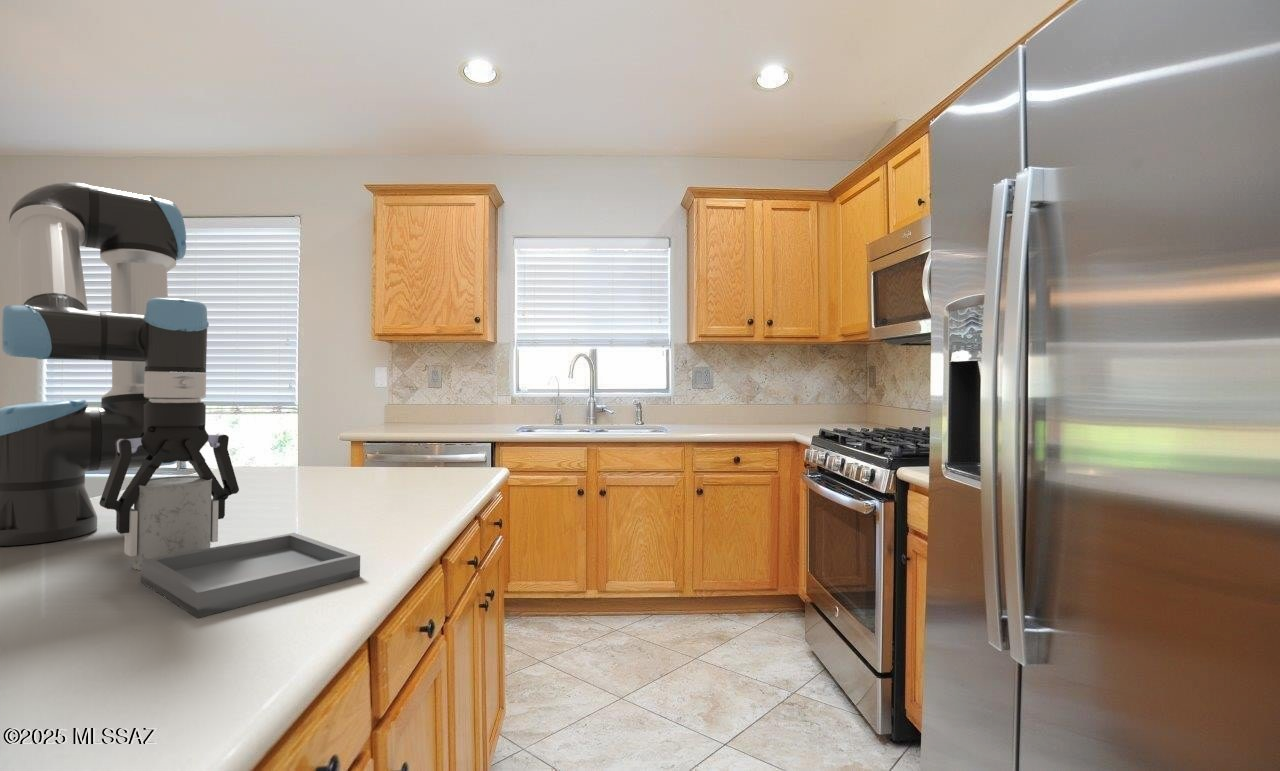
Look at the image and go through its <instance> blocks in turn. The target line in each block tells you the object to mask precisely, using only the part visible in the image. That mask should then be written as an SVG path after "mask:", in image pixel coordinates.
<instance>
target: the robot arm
mask: <svg viewBox="0 0 1280 771" xmlns="http://www.w3.org/2000/svg"><path fill="white" fill-rule="evenodd" d="M8 221H9V222H8V224H9V226H8V227H9V231H10V234H11V236H12V238H14V240H15V241H16V242H18V243H17V244H18V245H17V248H18V274H19V275H18V277H19V279H18V280H19V283H18V284H19V305H18V304H17V305H13V304H10V305H6V306H4V308H3V309H2V311H1V312H2V314H1V316H2V319H1V320H2V321H1V350H2V352H3V353H4V354H5V355H8V356H10V357H15V358H17V357H19V358H33V359H38V360H46V359H47V360H82V361H83V360H85V361H95V360H96V361H111V389H110V390H109V391H107V392H106V393H104V394H103V395H102V396H101V401H100V403H101V404H100V405H101V406H88V405H89V403H88V402H87V400H86V399H83V398H75V399H59V400H58V399H57V400H49V401H40V402H37V401H36V402H30V403H29V402H27V403H22V404H21V403H20V404H14V405H13V404H12V405H8V406H4V407H2V408H1V407H0V547H3V546H5V547H7V546H8V547H9V546H22V545H23V546H25V545H34V544H35V545H36V544H41V543H48V542H55V541H56V542H57V541H62V540H66V539H71V538H77V537H80V536H84V535H87V534H90V533H93V532H95V531H96V530H98V516H97V512H96V510H95V507H94V505H93V503H92V501H91V498H90V496H89V494H88V491H87V489H86V472H94V471H95V472H97V471H108V470H110V472H109V474H108V477H107V480H106V483H105V486H104V489H103V492H102V493H101V497H100V500H99V503H98V504H99V505H100V507H102V508H105V509H107V510H114V511H115V512H116V514H115V515H116V516H115V520H116V521H115V530H116V531H117V533H118V534H120V535H123V534H124V548H123V549H124V550H123V551H124V552H123V553H124V554H125V555H127V556H129V557H133V556H137V520H138V511H137V510H135V509H134V508H132V507H134V503H135V501H136V500H137V498H138V497H139V495H140V487H139V486H140V485H141V486H146V485H147V483H148V481H149V480H150V479H152V477H153V475H154V474H155V472H156V471H157V469H159V468H160V467H162V466H171V465H175V464H176V463H178V462H188V463H189V464H190V465H191V466H192V468H193V469H194V471H195V472H196V473H197V476H199V477H200V478H202V479H205V480H210V479H211V478H212V489H211V540H210V543H217V542H218V541H219V520H222V519H224V518H225V516H226V500H227V499H228V498H229V496H231V495H236V494H238V493H239V491H240V488H239V484H238V480H237V478H236V474H235V471H234V467H233V463H232V459H231V457H230V453H229V449H228V448H229V439H230V438H229V436H228V435H227V434H223V433H217V434H209V433H208V432H207V431H206V411H207V407H206V406H207V405H206V404H205V402H203V401H202V399H205V398H206V396H207V395H206V394H207V390H206V389H207V352H208V351H207V347H208V345H207V344H208V342H207V341H208V327H209V322H208V309H207V306H206V305H205V304H204V303H203V302H202V301H198V300H192V299H184V298H183V299H182V298H173V297H172V298H171V297H169V296H168V294H169V293H168V272H170V271H171V270H172V269H174V268H175V267H176V266H177V260H182V259H183V258H185V256H186V253H187V252H186V251H187V242H186V241H187V232H186V225H185V221H184V216H183V215H182V212H181V210H180V209H179V207H178V206H177V204H175V203H174V202H172V201H170V200H167V199H164V198H163V199H162V198H158V197H154V196H152V195H148V194H147V195H143V194H137V193H134V192H133V193H132V192H129V191H128V192H127V191H123V190H122V191H121V190H117V189H112V188H106V187H99V186H95V185H90V184H86V183H81V182H69V181H68V182H65V181H64V182H56V183H52V184H47V185H43V186H40V187H38V188H36V189H33V190H31V191H29V192H28V193H26V194H25V195H23V196H22V197H21V198H19V199H18V200H17V201H16V202H15V204H14V205H13V206H12V208H11V211H10V214H9V219H8ZM81 247H85V248H93V249H96V250H97V249H98V250H100V252H99V253H100V254H99V255H100V260H101V261H102V262H103V263H105V264H106V265H107V266H109V267H110V287H111V288H110V290H111V291H110V294H111V295H110V296H111V297H110V298H111V300H110V301H111V306H110V309H111V311H110V312H109V311H98V310H88V302H87V295H86V294H87V293H86V288H85V287H86V286H85V279H84V272H83V264H82V258H81V257H82V256H81V250H80V248H81ZM168 297H169V298H168ZM207 442H208V444H209V446H210V447H211V448H212V450H213V454H214V458H215V462H216V466H217V468H218V472H219V475H220V479H221V482H222V485H221V484H220V482H219V481H218V479H217V477H216V476H215V475H214V474H215V473H213V472H212V470H211V468H210V467H209V465H208V464H207V462H206V459H205V457H204V456H203V454H202V453H201V450H202V448H203V447H204V446H205V445H206V443H207ZM138 468H139V469H138ZM128 469H138V470H137V472H136V473H135V475H134V476H133V477H132V479H131V480H130V482H129V483H128V485H127V486H126V489H125V490H124V491H123V493H122V494H121V496H120V497H119V495H120V493H121V489H122V486H123V484H124V482H125V479H126V475H127V472H128ZM222 486H223V487H222Z"/></svg>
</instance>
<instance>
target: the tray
mask: <svg viewBox="0 0 1280 771" xmlns="http://www.w3.org/2000/svg"><path fill="white" fill-rule="evenodd" d="M140 572H141V573H140V583H142V584H143V583H144V585H145V586H146V585H147V586H146V587H148V586H149V587H150V589H151V588H152V589H151V590H153V589H154V590H155V592H156V591H157V592H158V593H157V592H156V593H157V594H159V593H160V594H161V595H160V594H159V595H160V596H162V595H163V596H162V597H164V596H165V597H166V598H165V597H164V598H165V599H167V598H168V599H169V601H170V600H171V601H172V602H171V601H170V602H171V603H173V602H174V603H173V604H175V605H176V604H177V605H176V606H178V605H179V606H180V607H179V606H178V607H179V608H181V607H182V608H183V609H182V608H181V609H182V610H184V609H185V610H186V612H187V611H188V612H187V613H188V614H191V615H192V616H193V617H194V618H196V619H200V618H203V617H207V616H211V615H215V614H218V613H222V612H223V613H224V612H226V611H230V610H235V609H237V608H241V607H245V606H250V605H254V604H258V603H261V602H265V601H269V600H273V599H276V598H280V597H281V598H282V597H284V596H288V595H292V594H296V593H300V592H303V591H307V590H312V589H316V588H318V587H319V588H320V587H323V586H327V585H331V584H335V583H339V582H342V581H346V580H350V579H354V578H358V577H361V555H360V554H357V553H354V552H351V551H348V550H345V549H343V548H339V547H337V546H334V545H331V544H328V543H325V542H322V541H319V540H316V539H313V538H310V537H308V536H304V535H302V534H298V533H296V532H291V533H285V534H279V535H275V536H268V537H264V538H263V537H262V538H257V539H251V540H246V541H241V542H236V543H235V542H234V543H230V544H223V545H218V546H213V547H210V548H207V549H201V550H196V551H190V552H185V553H179V554H174V555H168V556H163V557H157V558H151V559H146V560H141V570H140ZM149 587H148V588H149ZM154 590H153V591H154ZM168 599H167V600H168ZM185 610H184V611H185Z"/></svg>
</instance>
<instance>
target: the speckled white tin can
mask: <svg viewBox="0 0 1280 771" xmlns="http://www.w3.org/2000/svg"><path fill="white" fill-rule="evenodd" d="M139 487H140V495H139V497H138V498H137V500H136V501H135V503H134V504H133V509H135V510H137V511H138V520H137V556H132V564H131V568H132V569H134V570H136V569H137V571H141V560H146V559H151V558H157V557H163V556H168V555H174V554H179V553H185V552H190V551H196V550H201V549H207V548H211V542H210V540H211V498H212V495H211V489H212V478H211V479H210V480H205V479H202V478H200V477H199V475H182V476H181V475H180V476H179V475H178V476H164V477H163V476H162V477H154V478H150V480H149V481H148V483H147V485H146V486H141V485H140V486H139Z"/></svg>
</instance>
